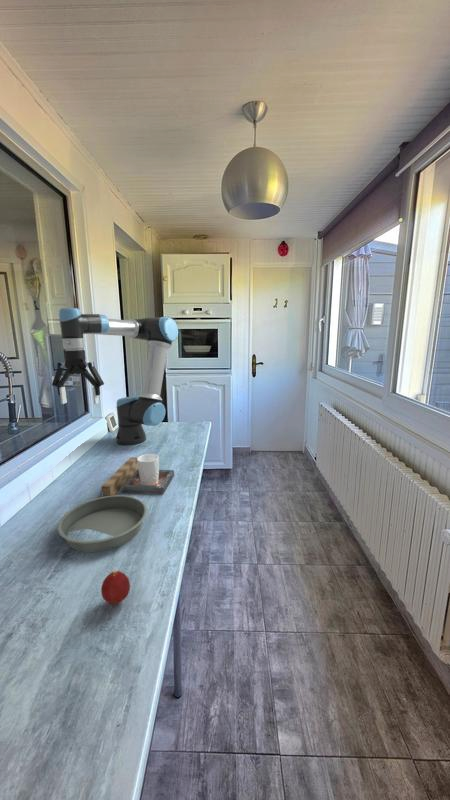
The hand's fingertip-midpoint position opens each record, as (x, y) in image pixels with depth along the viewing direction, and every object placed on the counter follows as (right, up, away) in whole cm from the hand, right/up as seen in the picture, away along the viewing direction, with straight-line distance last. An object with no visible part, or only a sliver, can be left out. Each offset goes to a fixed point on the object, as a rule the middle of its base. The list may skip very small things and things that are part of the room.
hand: (80, 403), depth 134 cm
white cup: (+29, -30, -7) cm, 42 cm away
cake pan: (+22, -37, -34) cm, 55 cm away
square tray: (+29, -30, -7) cm, 43 cm away
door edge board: (+18, -30, -6) cm, 36 cm away
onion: (+34, -42, -61) cm, 82 cm away
